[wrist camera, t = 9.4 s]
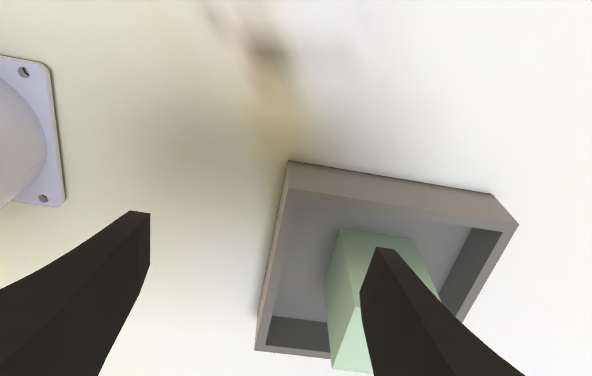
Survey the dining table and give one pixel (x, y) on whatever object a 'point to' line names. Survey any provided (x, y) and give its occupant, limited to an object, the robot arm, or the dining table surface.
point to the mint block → (345, 292)
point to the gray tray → (378, 220)
